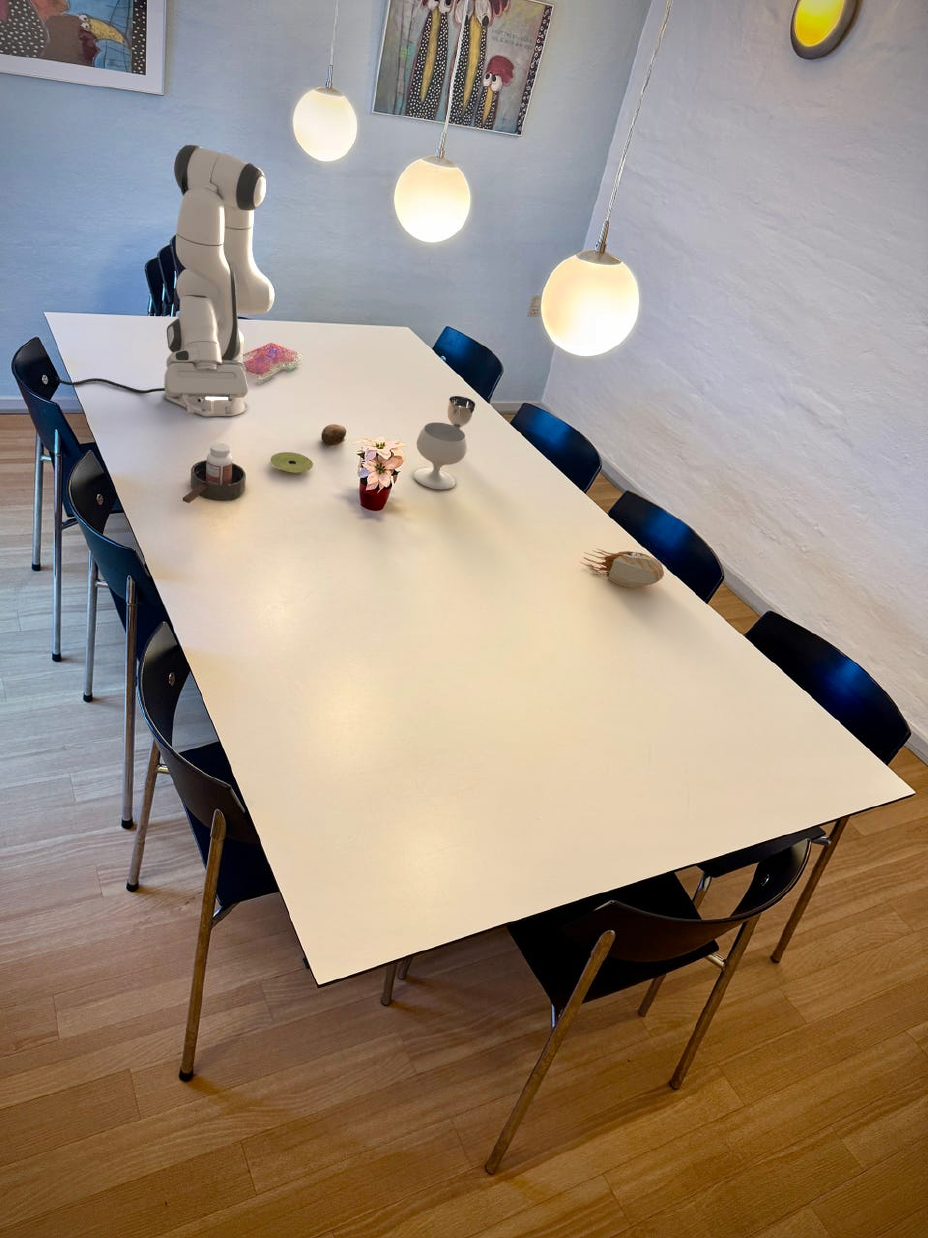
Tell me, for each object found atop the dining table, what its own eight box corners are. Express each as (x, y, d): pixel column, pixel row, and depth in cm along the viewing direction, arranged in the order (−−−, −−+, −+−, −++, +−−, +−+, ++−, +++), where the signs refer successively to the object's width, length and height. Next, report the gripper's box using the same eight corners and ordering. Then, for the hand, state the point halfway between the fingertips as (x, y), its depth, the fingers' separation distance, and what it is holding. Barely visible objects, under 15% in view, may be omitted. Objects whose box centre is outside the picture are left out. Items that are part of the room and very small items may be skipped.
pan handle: (182, 501, 209) (182, 497, 209) (202, 486, 216) (202, 482, 216) (189, 503, 209) (189, 500, 208) (208, 488, 216) (208, 485, 216)
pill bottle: (227, 480, 226) (230, 440, 220) (233, 492, 222) (236, 452, 216) (203, 480, 224) (204, 440, 217) (208, 492, 219) (210, 452, 213)
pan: (180, 490, 219) (180, 474, 216) (207, 470, 229) (208, 454, 227) (228, 507, 217) (229, 491, 215) (253, 486, 228) (255, 470, 225)
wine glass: (469, 448, 273) (479, 403, 265) (457, 456, 267) (468, 410, 259) (446, 438, 275) (456, 393, 267) (435, 446, 269) (444, 400, 261)
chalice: (403, 467, 254) (412, 419, 245) (448, 467, 260) (458, 421, 251) (419, 492, 244) (429, 443, 235) (465, 492, 250) (477, 444, 241)
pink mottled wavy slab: (261, 387, 276) (262, 372, 273) (220, 371, 279) (221, 356, 276) (310, 363, 300) (312, 349, 297) (272, 349, 303) (273, 334, 300)
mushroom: (355, 432, 258) (345, 416, 253) (348, 452, 253) (337, 436, 249) (331, 436, 261) (321, 420, 256) (324, 456, 257) (313, 440, 252)
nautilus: (573, 578, 226) (584, 554, 238) (655, 603, 222) (662, 577, 235) (580, 551, 222) (591, 528, 234) (664, 576, 218) (670, 551, 231)
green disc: (277, 479, 233) (277, 472, 232) (264, 458, 241) (265, 452, 239) (317, 477, 238) (318, 471, 237) (304, 457, 246) (305, 451, 245)
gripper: (241, 364, 229) (247, 417, 229) (159, 362, 219) (166, 417, 219) (247, 356, 224) (254, 410, 223) (164, 353, 214) (171, 409, 213)
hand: (210, 413), depth 221 cm, fingers open, 8 cm apart
